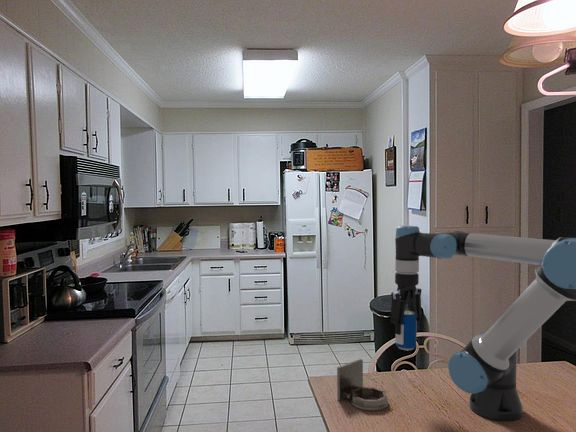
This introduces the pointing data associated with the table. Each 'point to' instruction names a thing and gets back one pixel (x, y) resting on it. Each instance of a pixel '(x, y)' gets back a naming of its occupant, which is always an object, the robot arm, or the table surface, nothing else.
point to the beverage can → (409, 331)
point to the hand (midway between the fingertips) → (406, 341)
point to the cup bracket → (358, 388)
